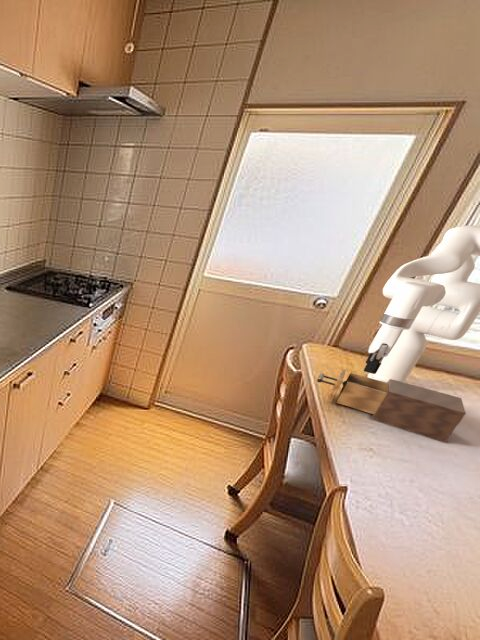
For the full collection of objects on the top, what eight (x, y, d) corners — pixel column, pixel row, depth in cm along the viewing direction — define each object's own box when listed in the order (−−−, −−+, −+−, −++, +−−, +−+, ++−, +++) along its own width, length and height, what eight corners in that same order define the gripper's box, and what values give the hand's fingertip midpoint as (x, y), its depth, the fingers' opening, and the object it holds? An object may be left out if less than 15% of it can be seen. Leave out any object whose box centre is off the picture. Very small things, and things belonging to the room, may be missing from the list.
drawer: (309, 395, 153) (320, 374, 149) (314, 385, 162) (324, 364, 158) (387, 420, 140) (401, 397, 136) (388, 407, 149) (402, 385, 145)
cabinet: (371, 419, 142) (388, 391, 137) (373, 405, 152) (389, 378, 147) (444, 442, 132) (465, 413, 127) (441, 425, 141) (461, 398, 136)
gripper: (382, 313, 144) (358, 358, 152) (380, 323, 133) (354, 371, 141) (411, 318, 140) (385, 365, 148) (412, 330, 129) (383, 379, 137)
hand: (370, 368), depth 145 cm, fingers open, 9 cm apart
